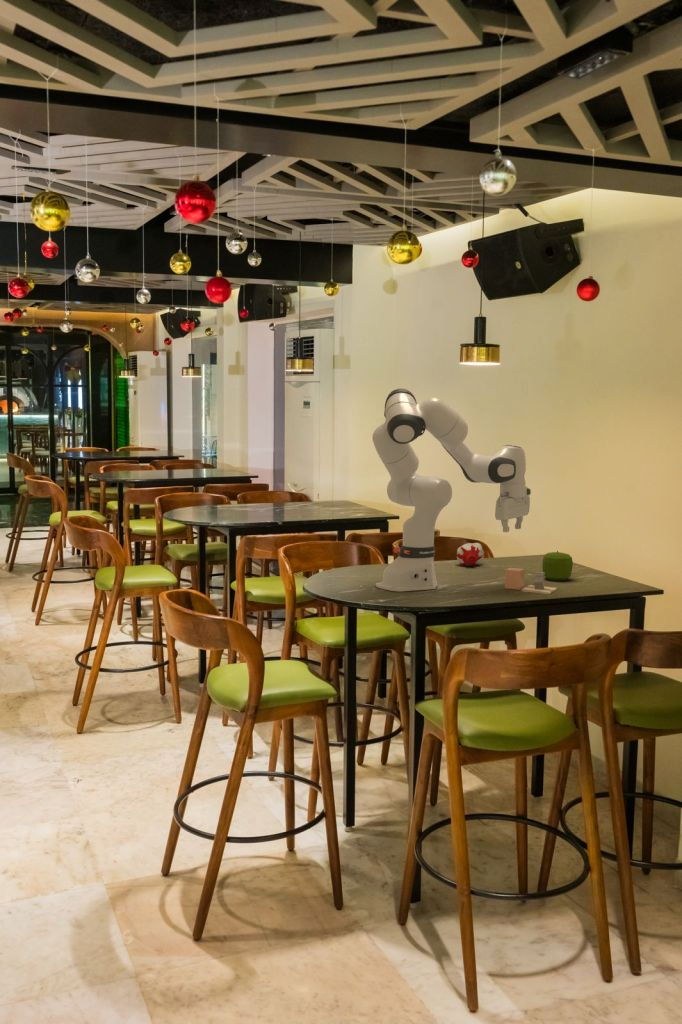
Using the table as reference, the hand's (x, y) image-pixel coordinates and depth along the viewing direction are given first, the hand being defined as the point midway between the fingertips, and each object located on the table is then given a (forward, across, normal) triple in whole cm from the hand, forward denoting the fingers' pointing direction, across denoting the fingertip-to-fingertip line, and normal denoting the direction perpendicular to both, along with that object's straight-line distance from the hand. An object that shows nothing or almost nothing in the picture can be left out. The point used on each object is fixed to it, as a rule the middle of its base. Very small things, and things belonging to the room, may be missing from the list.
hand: (512, 530), depth 324 cm
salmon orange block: (+20, -2, -2) cm, 20 cm away
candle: (+21, +31, +34) cm, 50 cm away
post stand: (+20, -1, -11) cm, 23 cm away
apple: (+21, +24, -7) cm, 32 cm away
